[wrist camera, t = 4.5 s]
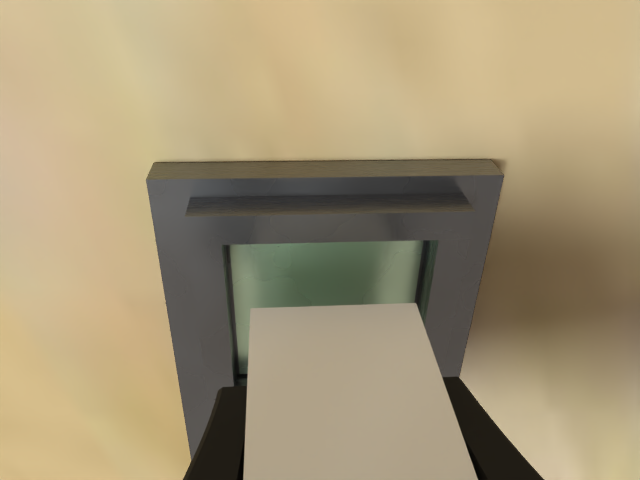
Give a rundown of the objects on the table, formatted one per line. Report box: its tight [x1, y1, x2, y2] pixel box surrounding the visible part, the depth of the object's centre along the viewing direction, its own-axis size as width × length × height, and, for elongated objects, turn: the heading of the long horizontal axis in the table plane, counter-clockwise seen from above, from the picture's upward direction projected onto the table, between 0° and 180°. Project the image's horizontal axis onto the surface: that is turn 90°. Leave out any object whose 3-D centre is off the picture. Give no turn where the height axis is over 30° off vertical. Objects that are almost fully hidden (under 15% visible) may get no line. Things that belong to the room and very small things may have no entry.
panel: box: [146, 159, 504, 461], centre depth 18 cm, size 9×18×2 cm, turn 179°
